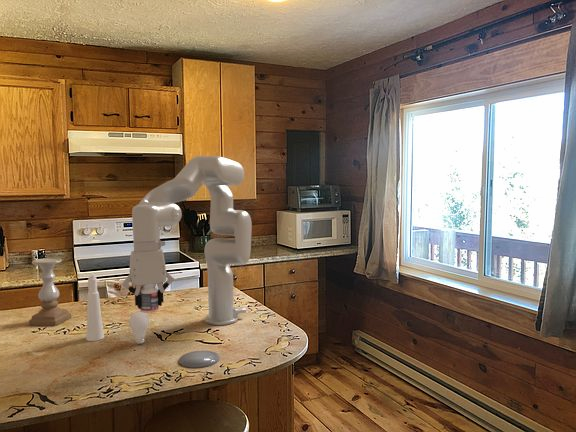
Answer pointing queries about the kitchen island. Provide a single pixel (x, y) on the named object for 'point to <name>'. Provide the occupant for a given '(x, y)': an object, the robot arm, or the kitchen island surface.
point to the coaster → (199, 359)
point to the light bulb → (139, 325)
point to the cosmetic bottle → (93, 312)
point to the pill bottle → (149, 298)
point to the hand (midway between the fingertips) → (149, 305)
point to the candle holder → (49, 297)
